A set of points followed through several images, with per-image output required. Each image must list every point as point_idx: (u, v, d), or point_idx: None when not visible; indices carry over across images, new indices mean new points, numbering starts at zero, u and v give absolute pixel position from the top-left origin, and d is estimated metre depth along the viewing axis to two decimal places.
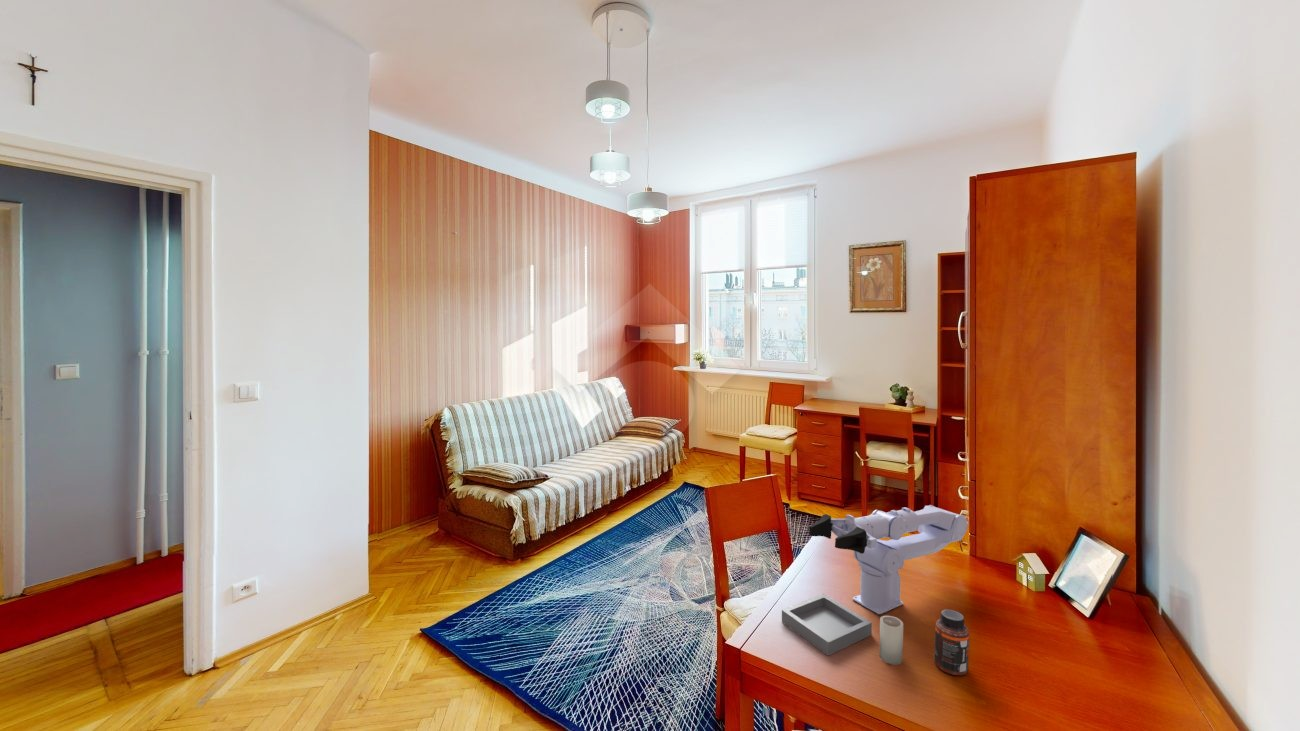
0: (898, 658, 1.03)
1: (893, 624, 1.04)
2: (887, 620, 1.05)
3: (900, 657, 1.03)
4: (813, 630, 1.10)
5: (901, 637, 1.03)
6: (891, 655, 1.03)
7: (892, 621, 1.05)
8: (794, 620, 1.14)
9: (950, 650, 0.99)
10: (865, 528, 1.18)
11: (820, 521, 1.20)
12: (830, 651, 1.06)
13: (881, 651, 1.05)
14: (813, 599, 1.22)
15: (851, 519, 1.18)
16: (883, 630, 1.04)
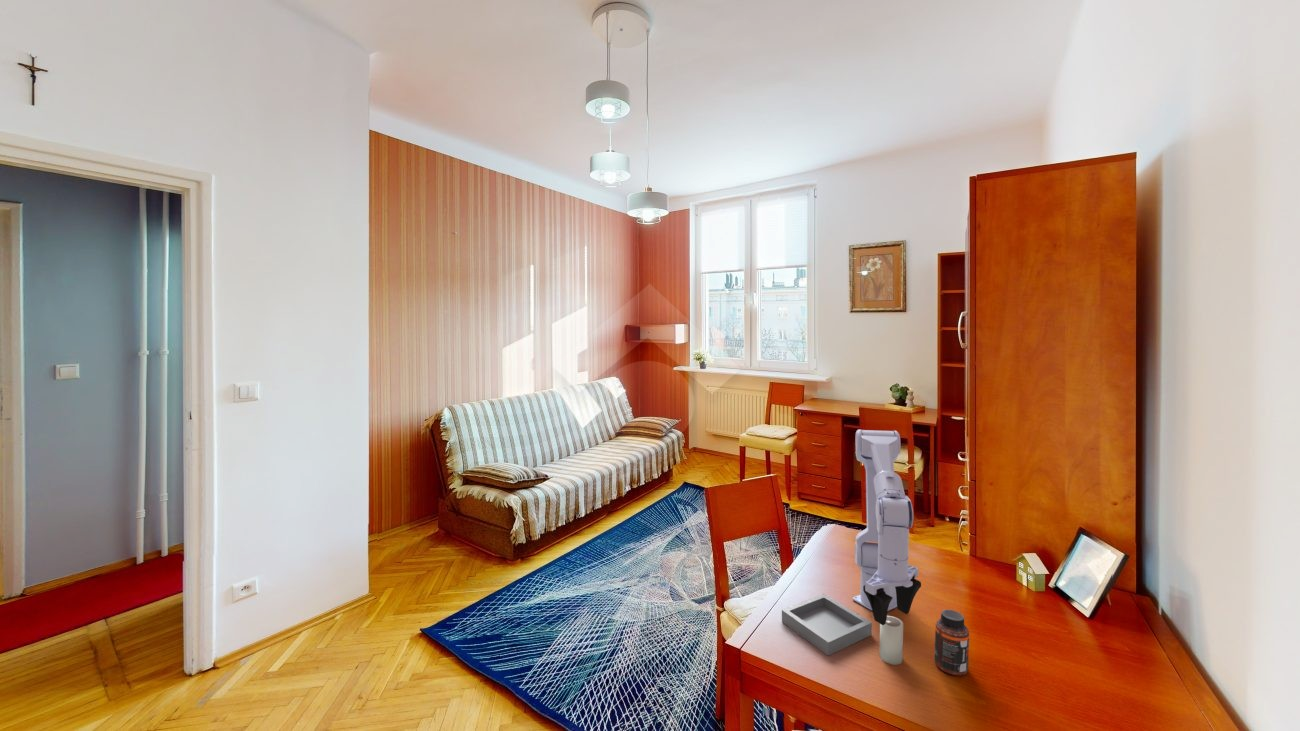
0: (898, 658, 1.03)
1: (893, 624, 1.04)
2: (887, 620, 1.05)
3: (900, 657, 1.03)
4: (813, 630, 1.10)
5: (901, 637, 1.03)
6: (891, 655, 1.03)
7: (892, 621, 1.05)
8: (794, 620, 1.14)
9: (950, 650, 0.99)
10: None
11: (885, 609, 1.00)
12: (830, 651, 1.06)
13: (881, 651, 1.05)
14: (813, 599, 1.22)
15: None
16: (883, 630, 1.04)
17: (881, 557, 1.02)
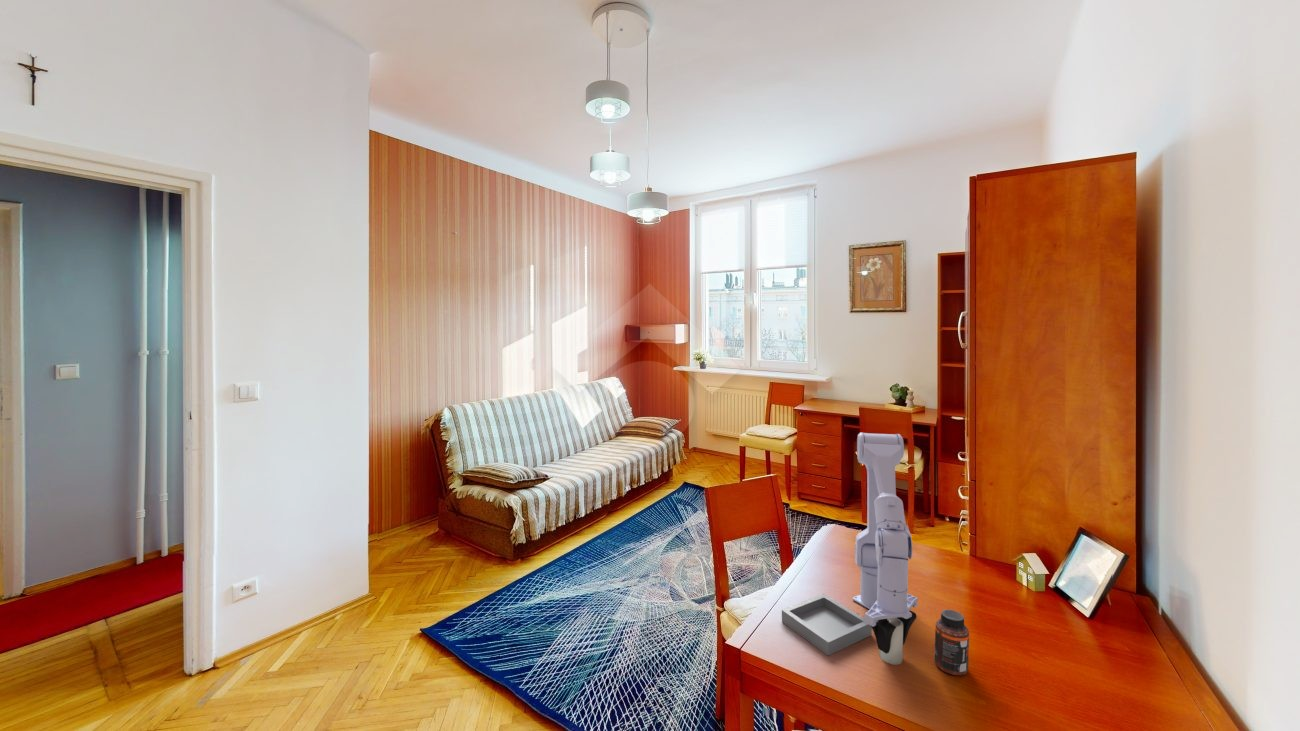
0: (898, 658, 1.03)
1: (893, 624, 1.03)
2: None
3: (900, 657, 1.03)
4: (813, 630, 1.10)
5: (901, 637, 1.03)
6: (891, 655, 1.03)
7: (892, 620, 1.05)
8: (794, 620, 1.14)
9: (950, 650, 0.99)
10: None
11: (889, 638, 1.02)
12: (830, 651, 1.06)
13: (881, 651, 1.05)
14: (813, 599, 1.22)
15: None
16: None
17: (880, 588, 1.03)
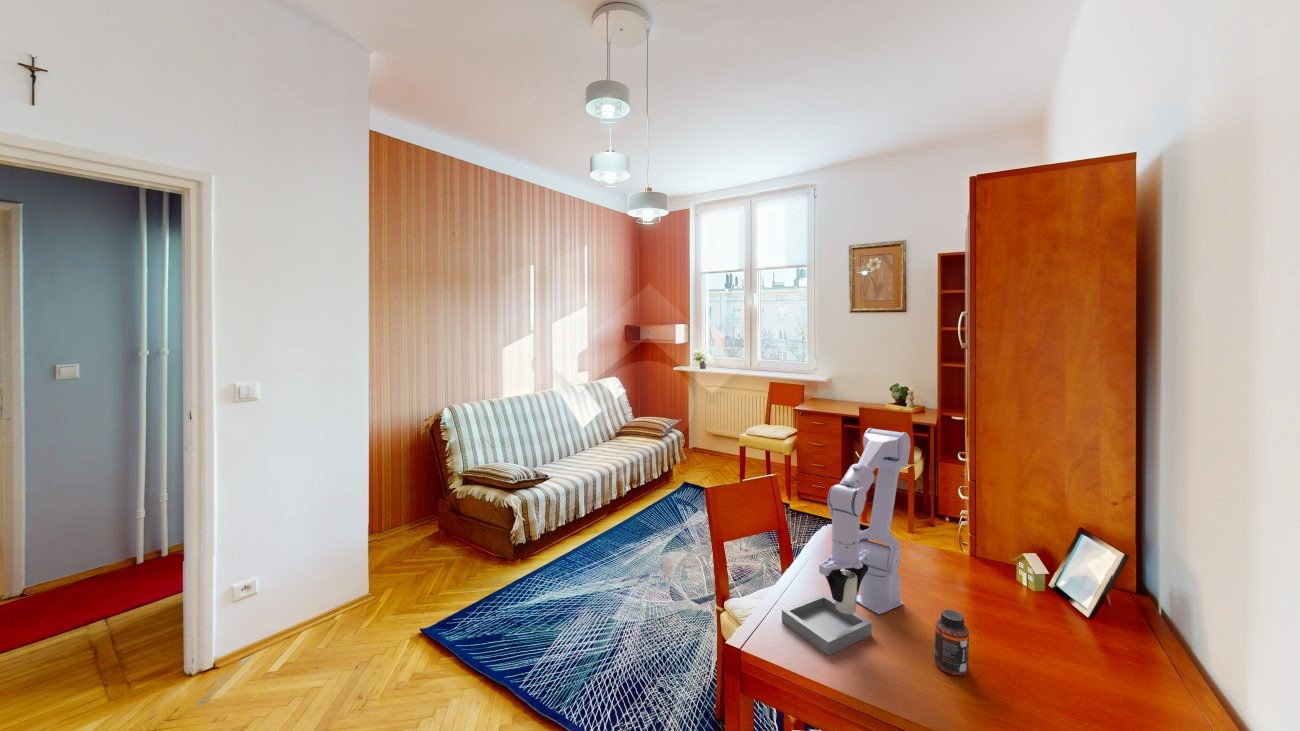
0: (852, 608, 1.09)
1: (848, 576, 1.10)
2: (843, 573, 1.11)
3: (854, 607, 1.09)
4: (813, 630, 1.10)
5: (855, 589, 1.09)
6: (846, 605, 1.09)
7: (847, 574, 1.11)
8: (794, 620, 1.14)
9: (950, 650, 0.99)
10: None
11: (842, 588, 1.08)
12: (830, 651, 1.06)
13: (837, 602, 1.11)
14: (813, 599, 1.22)
15: None
16: None
17: (834, 541, 1.10)
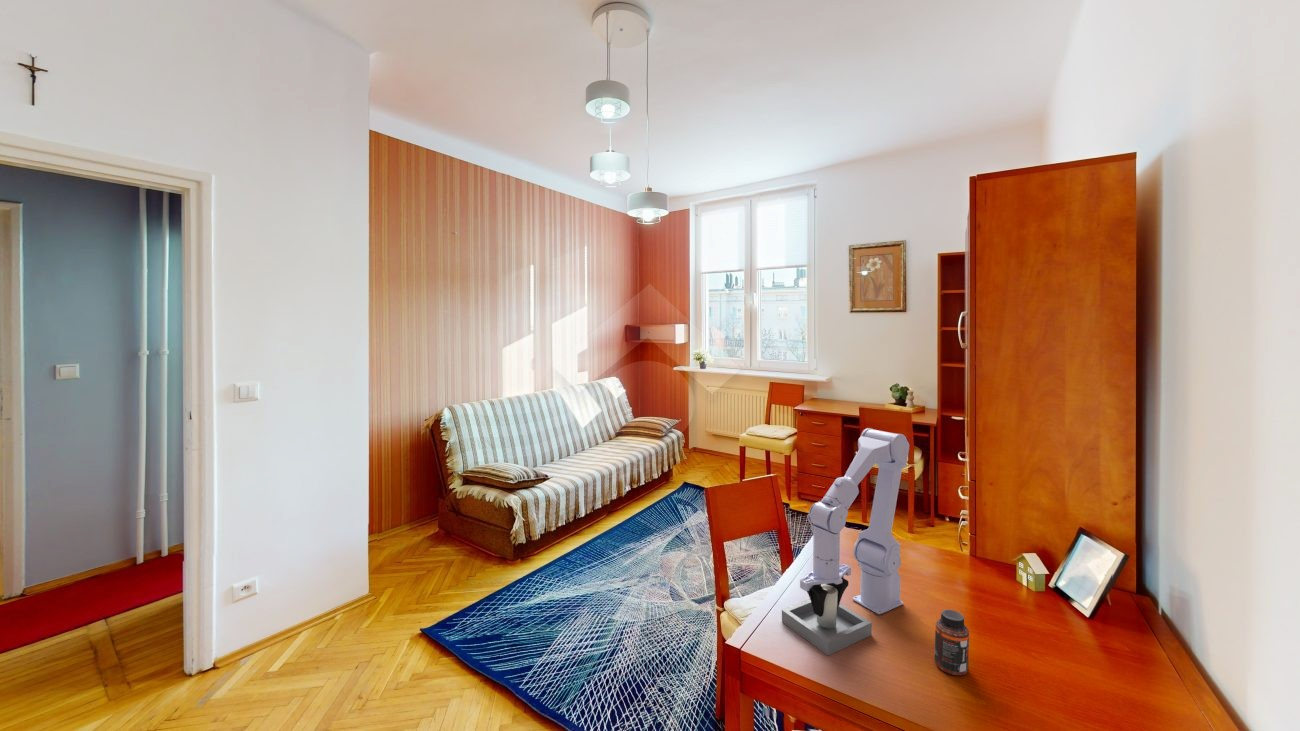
0: (832, 622, 1.13)
1: (829, 591, 1.13)
2: (824, 588, 1.15)
3: (834, 621, 1.13)
4: (813, 630, 1.10)
5: (835, 603, 1.13)
6: (826, 620, 1.13)
7: (828, 589, 1.14)
8: (794, 620, 1.14)
9: (950, 650, 0.99)
10: None
11: (822, 603, 1.12)
12: (830, 651, 1.06)
13: (818, 616, 1.14)
14: None
15: None
16: None
17: (815, 557, 1.13)
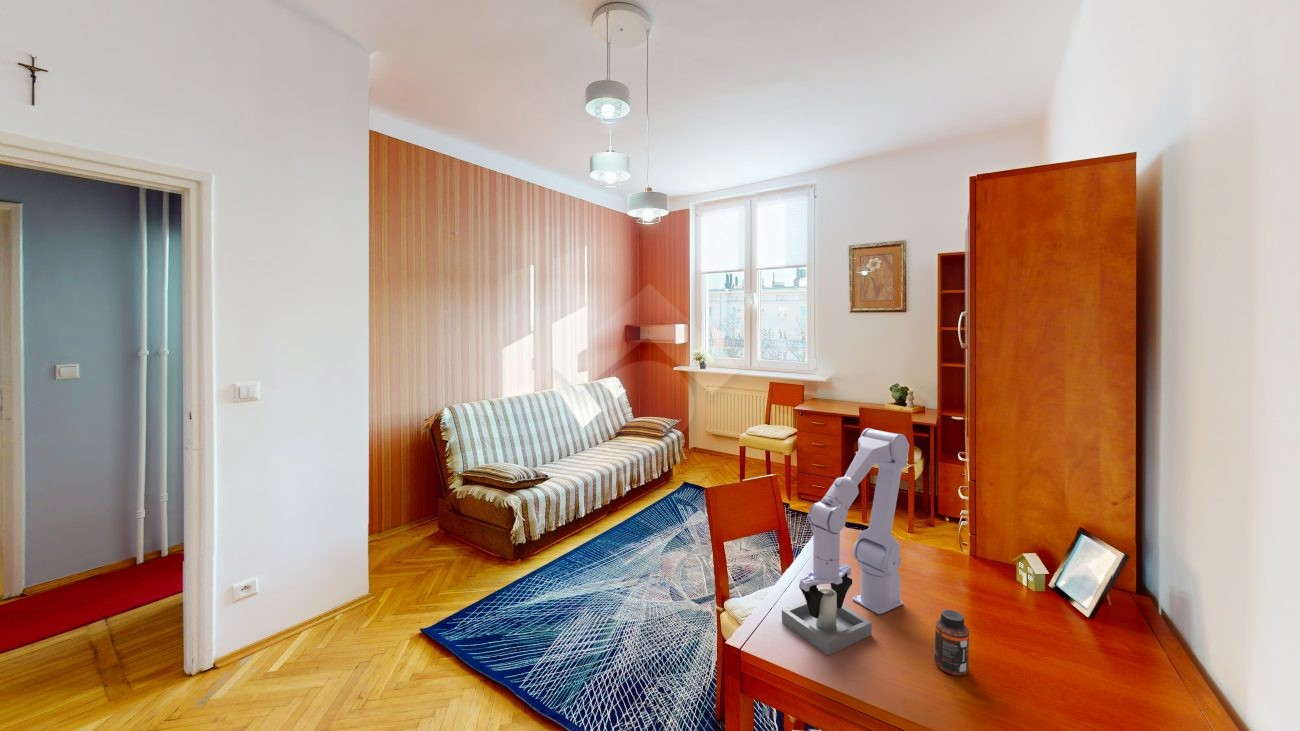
0: (832, 625, 1.13)
1: (828, 594, 1.14)
2: (823, 591, 1.15)
3: (834, 624, 1.13)
4: (813, 630, 1.10)
5: (835, 606, 1.13)
6: (826, 623, 1.13)
7: (827, 591, 1.15)
8: (794, 620, 1.14)
9: (950, 650, 0.99)
10: None
11: (818, 604, 1.11)
12: (830, 651, 1.06)
13: (817, 620, 1.15)
14: None
15: None
16: None
17: (815, 557, 1.13)
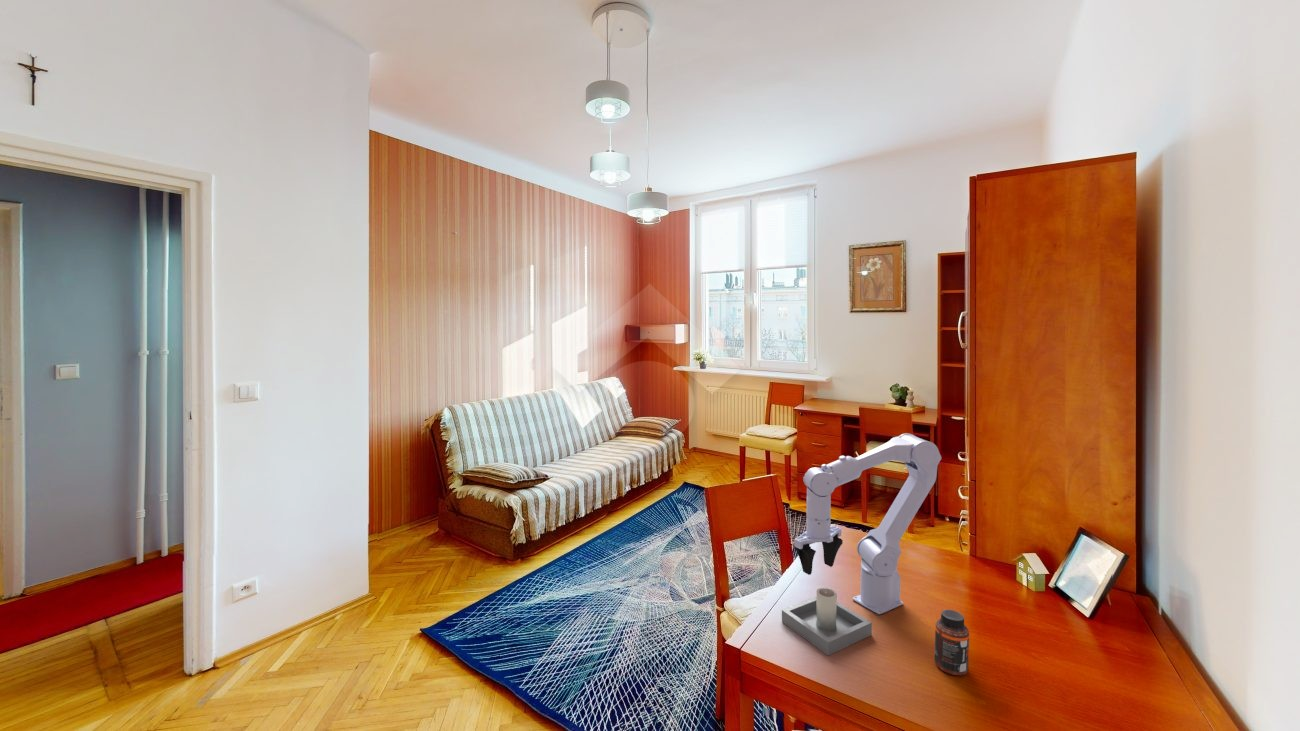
0: (832, 625, 1.13)
1: (828, 594, 1.14)
2: (823, 591, 1.15)
3: (834, 624, 1.13)
4: (813, 630, 1.10)
5: (835, 606, 1.13)
6: (826, 623, 1.13)
7: (827, 592, 1.15)
8: (794, 620, 1.14)
9: (950, 650, 0.99)
10: None
11: (811, 561, 1.20)
12: (830, 651, 1.06)
13: (817, 620, 1.15)
14: (813, 599, 1.22)
15: None
16: (819, 600, 1.14)
17: (808, 518, 1.22)
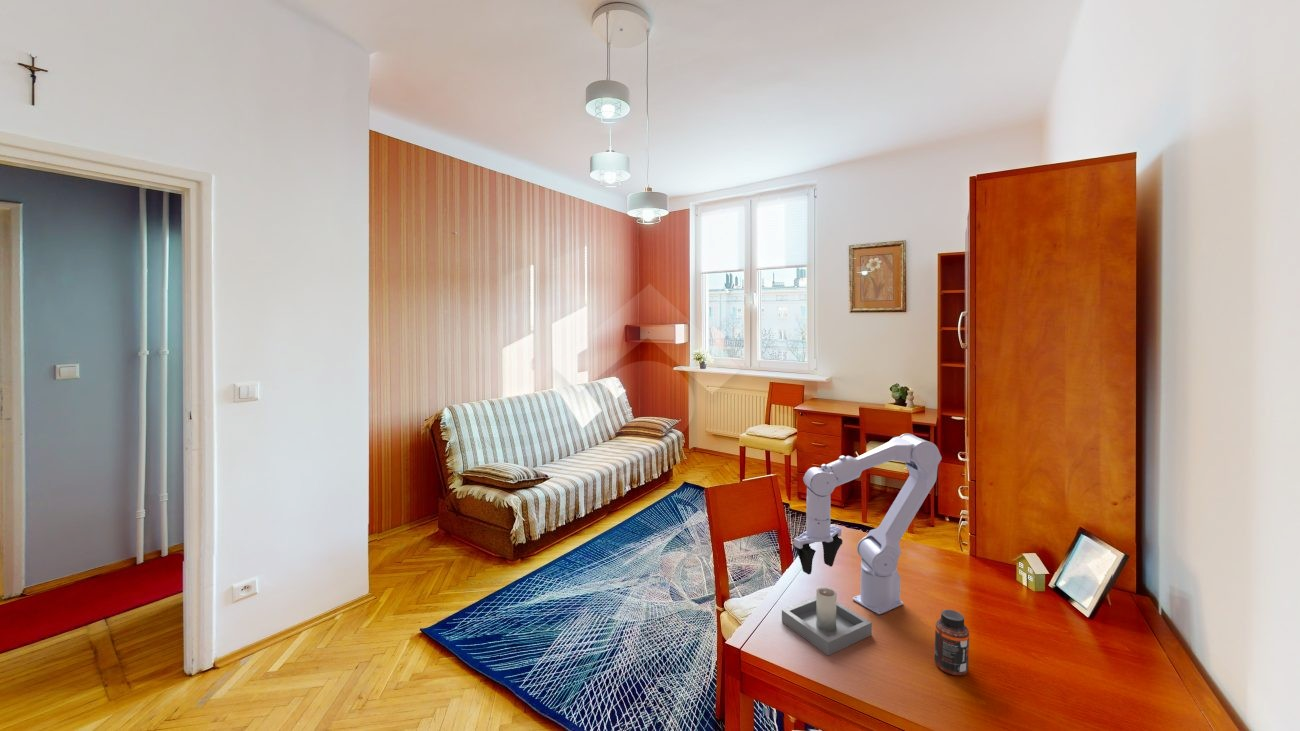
0: (832, 625, 1.13)
1: (828, 594, 1.14)
2: (823, 591, 1.15)
3: (834, 624, 1.13)
4: (813, 630, 1.10)
5: (835, 606, 1.13)
6: (826, 623, 1.13)
7: (826, 591, 1.15)
8: (794, 620, 1.14)
9: (950, 650, 0.99)
10: None
11: (810, 561, 1.21)
12: (830, 651, 1.06)
13: (817, 620, 1.15)
14: (813, 599, 1.22)
15: None
16: (819, 600, 1.14)
17: (808, 518, 1.23)
